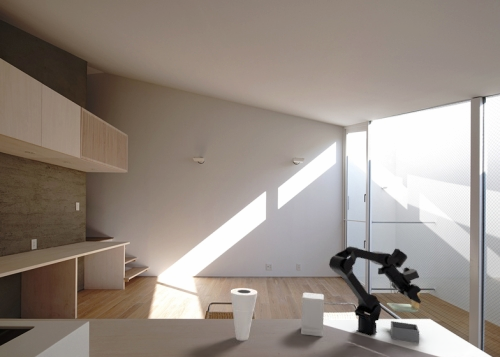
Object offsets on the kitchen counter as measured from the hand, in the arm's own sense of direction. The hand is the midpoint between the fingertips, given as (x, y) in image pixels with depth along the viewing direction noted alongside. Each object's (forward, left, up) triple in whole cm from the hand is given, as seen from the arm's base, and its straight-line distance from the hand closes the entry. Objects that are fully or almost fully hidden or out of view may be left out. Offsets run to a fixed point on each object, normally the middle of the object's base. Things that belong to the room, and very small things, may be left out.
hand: (418, 301), depth 156 cm
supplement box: (-28, -40, -12) cm, 50 cm away
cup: (-41, -68, -12) cm, 80 cm away
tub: (0, -15, -12) cm, 19 cm away
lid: (-5, -5, -4) cm, 7 cm away
